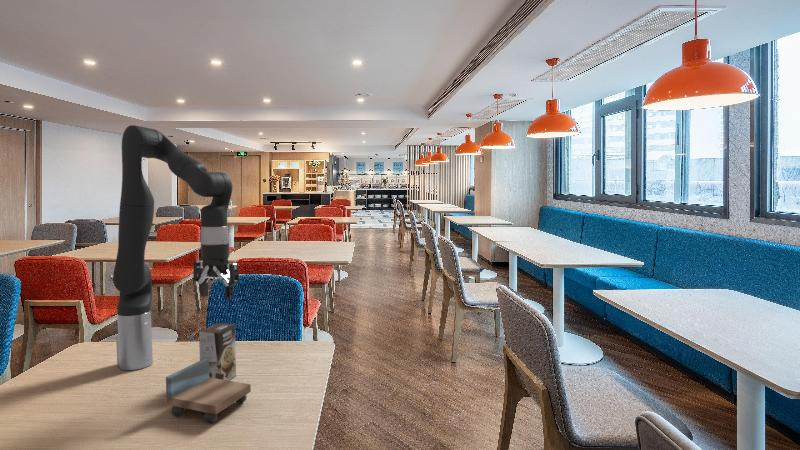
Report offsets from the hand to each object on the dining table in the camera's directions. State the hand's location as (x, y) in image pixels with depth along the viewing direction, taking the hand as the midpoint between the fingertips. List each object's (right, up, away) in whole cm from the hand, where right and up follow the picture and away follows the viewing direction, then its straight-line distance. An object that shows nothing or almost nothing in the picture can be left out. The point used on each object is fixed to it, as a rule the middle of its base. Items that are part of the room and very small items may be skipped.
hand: (216, 297), depth 134 cm
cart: (+5, -26, -15) cm, 31 cm away
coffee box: (0, -25, +2) cm, 25 cm away
